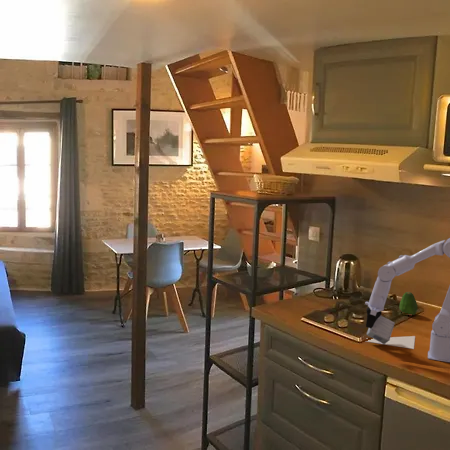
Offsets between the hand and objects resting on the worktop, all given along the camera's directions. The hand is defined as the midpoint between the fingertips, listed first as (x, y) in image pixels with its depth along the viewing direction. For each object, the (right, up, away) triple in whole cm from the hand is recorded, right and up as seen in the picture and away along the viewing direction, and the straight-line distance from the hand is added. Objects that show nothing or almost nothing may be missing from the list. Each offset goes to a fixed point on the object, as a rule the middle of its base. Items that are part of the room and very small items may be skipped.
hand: (368, 327), depth 195 cm
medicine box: (+3, -4, -1) cm, 5 cm away
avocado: (+30, -4, +41) cm, 51 cm away
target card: (+11, -6, +10) cm, 16 cm away
